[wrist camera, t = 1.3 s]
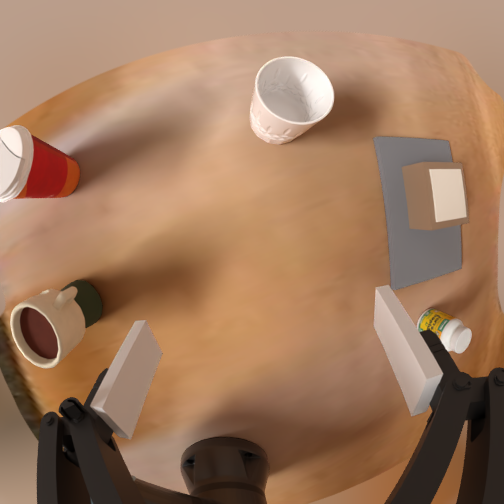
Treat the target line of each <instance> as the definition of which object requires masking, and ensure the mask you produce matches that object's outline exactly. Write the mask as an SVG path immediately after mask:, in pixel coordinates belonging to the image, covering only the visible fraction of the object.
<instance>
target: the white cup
mask: <svg viewBox="0 0 504 504" xmlns="http://www.w3.org/2000/svg"><path fill="white" fill-rule="evenodd" d="M333 103H334V90H333V86H332V84H331V82H330V80H329V78H328V77H327V75H326V74H325V73H324V72H323V71H322V70H321V69H320V68H319V67H318V66H316V65H315V64H313V63H311V62H309V61H307V60H305V59H302V58H298V57H290V56H286V57H279V58H275V59H273V60H271V61H269V62H267V63H266V64H265V65H264V66H263V67H262V68H261V69H260V70H259V72H258V74H257V77H256V81H255V86H254V91H253V95H252V101H251V110H250V116H249V117H250V124H251V128H252V129H253V131H254V132H255V134H256V135H257V136H258V137H259V138H261V139H262V140H264V141H266V142H267V143H272V144H279V145H280V144H284V143H287V142H290V141H292V140H293V139H294V138H296V137H298V136H300V135H301V134H303V133H304V132H306V131H307V130H308V129H310V128H311V127H312V126H314V125H315V124H316V123H318V122H319V121H320V120H322V119H323V118H325V117H326V116H327V115H328V114H329V112H330V111H331V109H332V107H333Z"/></svg>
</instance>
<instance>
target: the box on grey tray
mask: <svg viewBox="0 0 504 504" xmlns="http://www.w3.org/2000/svg"><path fill="white" fill-rule="evenodd" d="M373 140H374V145H375V149H376V155H377V160H378V165H379V171H380V177H381V183H382V190H383V197H384V204H385V212H386V221H387V231H388V243H389V256H390V276H391V289H393V290H397V289H400V288H404V287H407V286H410V285H414V284H417V283H420V282H423V281H426V280H429V279H432V278H436V277H439V276H442V275H445V274H447V273H450V272H453V271H456V270H459V269H462V253H461V227H460V225H462V224H467V223H469V213H468V202H467V193H466V186H465V178H464V172H463V166H462V163H453V161H452V156H451V151H450V146H449V141H445V140H434V139H421V138H403V137H375V138H373Z"/></svg>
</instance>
